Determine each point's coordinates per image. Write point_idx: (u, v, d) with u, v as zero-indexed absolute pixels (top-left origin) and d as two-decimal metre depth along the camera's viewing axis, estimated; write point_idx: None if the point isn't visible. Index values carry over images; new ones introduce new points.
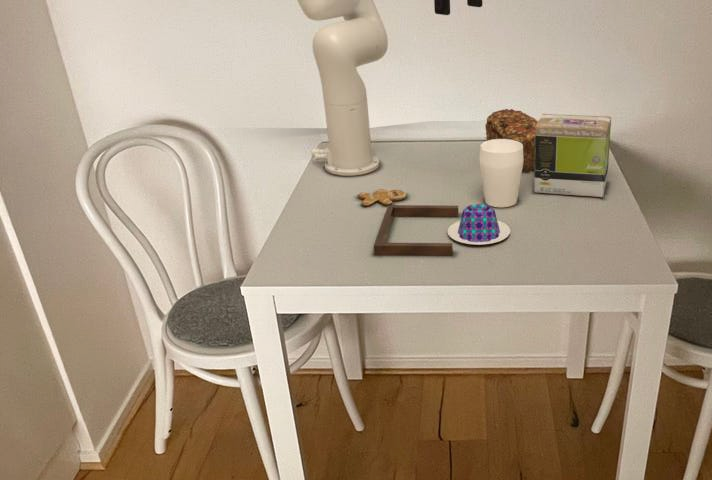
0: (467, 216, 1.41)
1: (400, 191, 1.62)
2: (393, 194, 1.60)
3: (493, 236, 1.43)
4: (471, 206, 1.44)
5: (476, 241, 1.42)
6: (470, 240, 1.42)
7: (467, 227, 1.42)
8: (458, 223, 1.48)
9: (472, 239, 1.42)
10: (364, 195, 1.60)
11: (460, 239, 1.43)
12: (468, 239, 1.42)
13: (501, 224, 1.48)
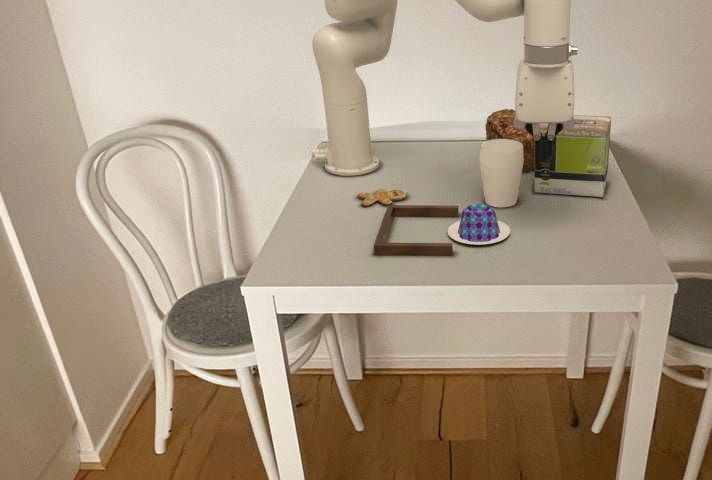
0: (467, 216, 1.41)
1: (400, 191, 1.62)
2: (393, 194, 1.60)
3: (493, 236, 1.43)
4: (471, 206, 1.44)
5: (476, 241, 1.42)
6: (470, 240, 1.42)
7: (467, 227, 1.42)
8: (458, 223, 1.48)
9: (472, 239, 1.42)
10: (364, 195, 1.60)
11: (460, 239, 1.43)
12: (468, 239, 1.42)
13: (501, 224, 1.48)
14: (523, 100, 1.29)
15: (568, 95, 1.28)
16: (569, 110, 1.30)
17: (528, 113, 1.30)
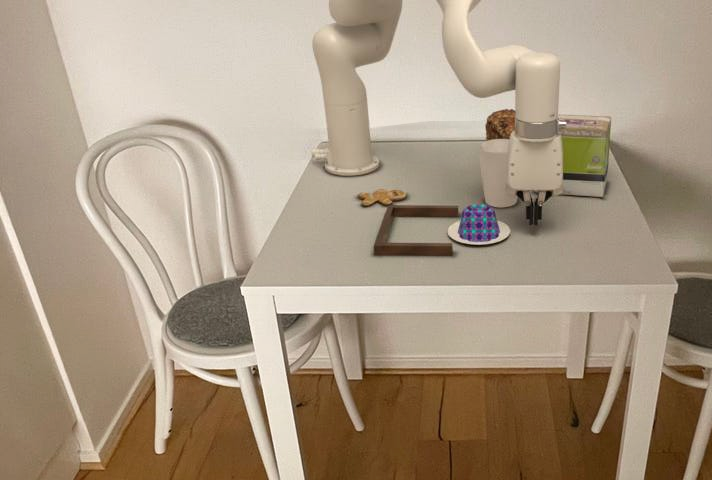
0: (467, 216, 1.41)
1: (400, 191, 1.62)
2: (393, 194, 1.60)
3: (493, 236, 1.43)
4: (471, 206, 1.44)
5: (476, 241, 1.42)
6: (470, 240, 1.42)
7: (467, 227, 1.42)
8: (458, 223, 1.48)
9: (472, 239, 1.42)
10: (364, 195, 1.60)
11: (460, 239, 1.43)
12: (468, 239, 1.42)
13: (501, 224, 1.48)
14: (514, 170, 1.36)
15: (557, 166, 1.35)
16: (558, 179, 1.37)
17: (519, 182, 1.37)
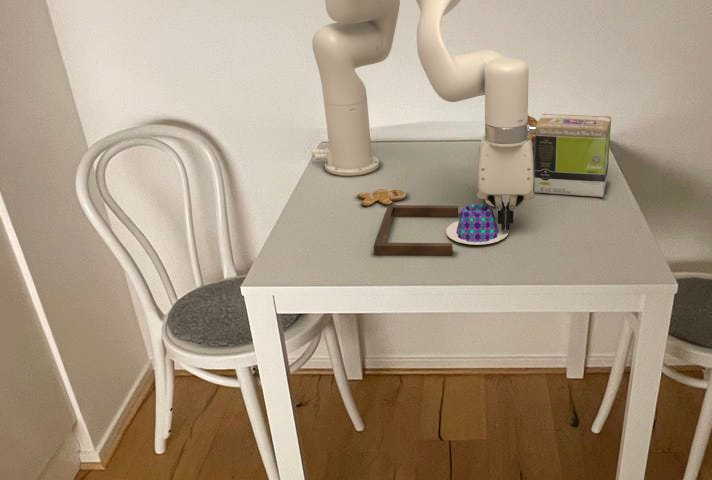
0: (465, 216, 1.41)
1: (400, 191, 1.62)
2: (393, 194, 1.60)
3: (491, 236, 1.43)
4: (470, 206, 1.44)
5: (474, 241, 1.42)
6: (468, 240, 1.42)
7: (466, 227, 1.42)
8: (457, 223, 1.48)
9: (470, 239, 1.42)
10: (364, 195, 1.60)
11: (458, 239, 1.43)
12: (466, 239, 1.42)
13: (500, 224, 1.48)
14: (485, 175, 1.37)
15: (527, 170, 1.36)
16: (528, 184, 1.37)
17: (490, 186, 1.38)
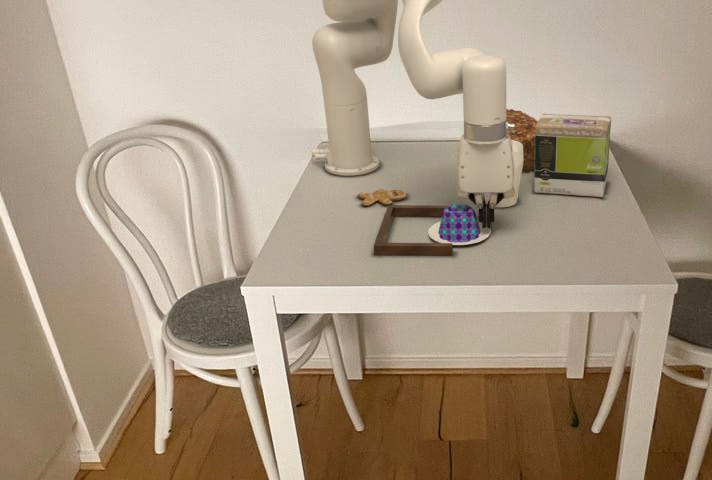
0: (447, 217, 1.41)
1: (400, 191, 1.62)
2: (393, 194, 1.60)
3: (473, 237, 1.43)
4: (452, 206, 1.44)
5: (455, 241, 1.42)
6: (450, 240, 1.42)
7: (447, 227, 1.42)
8: (439, 223, 1.48)
9: (452, 239, 1.42)
10: (364, 195, 1.60)
11: (440, 239, 1.43)
12: (448, 239, 1.42)
13: None
14: (464, 173, 1.36)
15: (507, 168, 1.36)
16: (508, 181, 1.37)
17: (470, 184, 1.37)
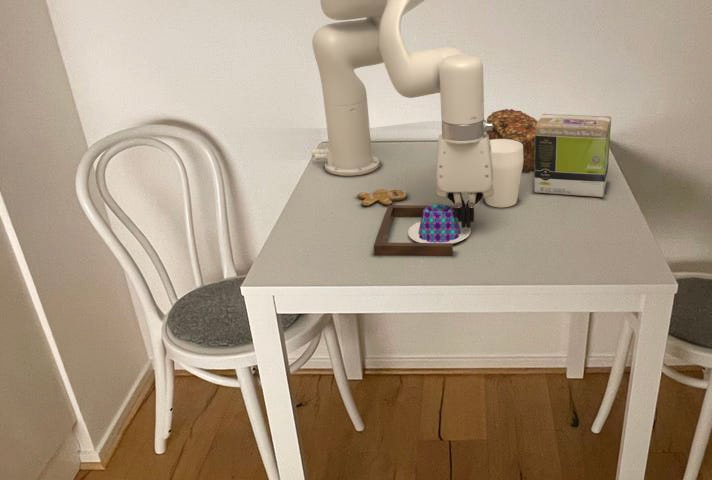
0: (426, 217, 1.41)
1: (400, 191, 1.62)
2: (393, 194, 1.60)
3: (452, 237, 1.43)
4: (431, 206, 1.44)
5: (435, 241, 1.42)
6: (429, 240, 1.42)
7: (426, 227, 1.42)
8: (420, 223, 1.48)
9: (431, 239, 1.42)
10: (364, 195, 1.60)
11: (419, 239, 1.43)
12: (427, 239, 1.42)
13: None
14: (443, 172, 1.36)
15: (485, 167, 1.36)
16: (487, 181, 1.37)
17: (448, 184, 1.37)
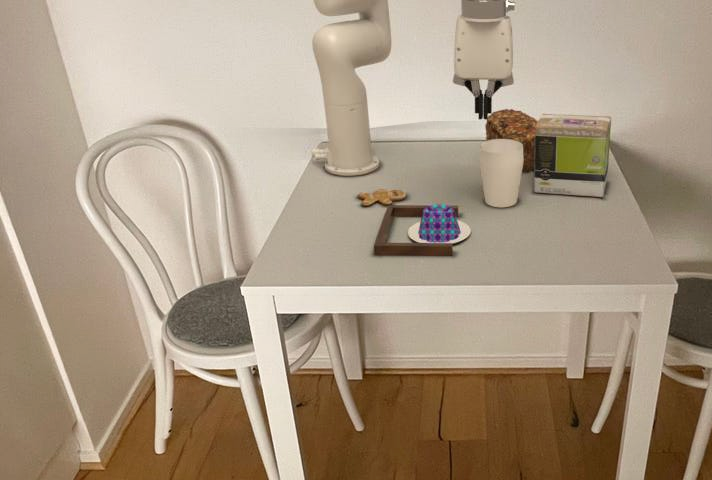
0: (426, 217, 1.41)
1: (400, 191, 1.62)
2: (393, 194, 1.60)
3: (452, 237, 1.43)
4: (431, 206, 1.44)
5: (434, 241, 1.42)
6: (429, 240, 1.42)
7: (426, 227, 1.42)
8: (420, 223, 1.48)
9: (431, 239, 1.42)
10: (364, 195, 1.60)
11: (419, 239, 1.43)
12: (427, 239, 1.42)
13: (463, 224, 1.48)
14: (461, 55, 1.29)
15: (506, 51, 1.29)
16: (507, 66, 1.30)
17: (466, 69, 1.30)
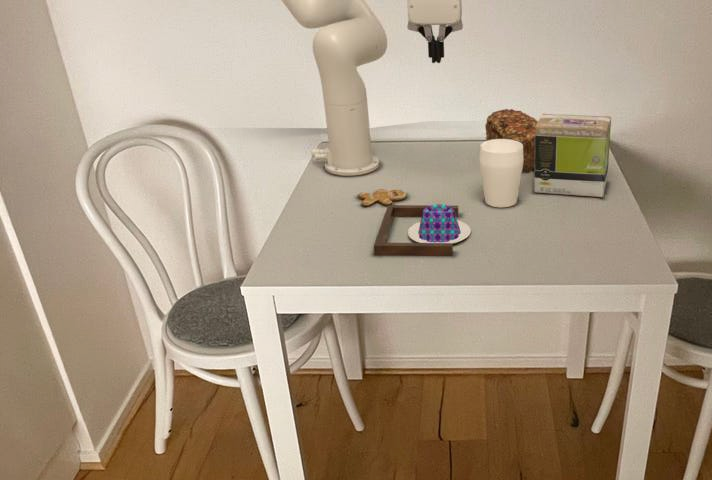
0: (426, 217, 1.41)
1: (400, 191, 1.62)
2: (393, 194, 1.60)
3: (452, 237, 1.43)
4: (431, 206, 1.44)
5: (434, 241, 1.42)
6: (429, 240, 1.42)
7: (426, 227, 1.42)
8: (420, 223, 1.48)
9: (431, 239, 1.42)
10: (364, 195, 1.60)
11: (419, 239, 1.43)
12: (427, 239, 1.42)
13: (463, 224, 1.48)
14: (413, 2, 1.42)
15: None
16: (455, 12, 1.43)
17: (418, 15, 1.43)
